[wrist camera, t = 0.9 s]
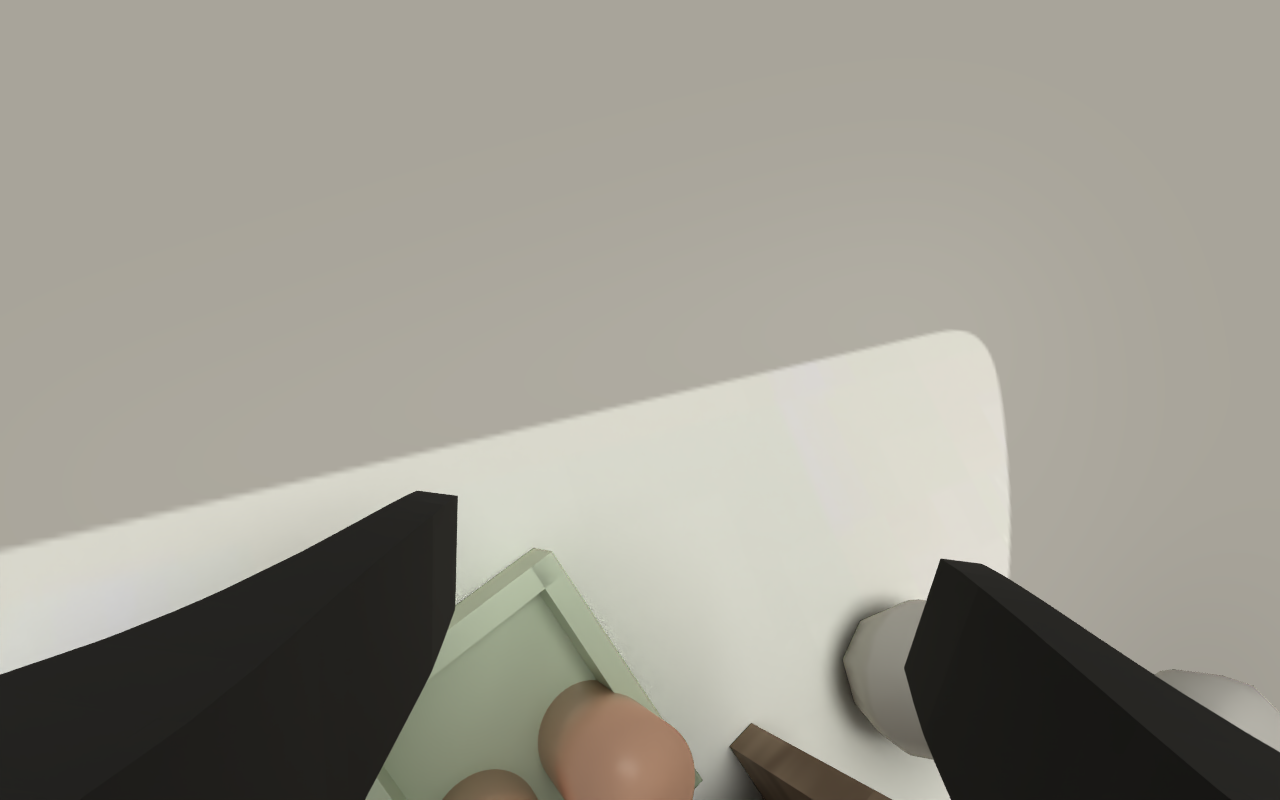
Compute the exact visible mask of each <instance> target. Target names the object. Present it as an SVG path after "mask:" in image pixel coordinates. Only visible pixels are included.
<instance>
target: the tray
mask: <svg viewBox="0 0 1280 800" xmlns="http://www.w3.org/2000/svg"><path fill="white" fill-rule="evenodd" d="M701 782H702V779H701V777H700V776H699V774H698V772H697V771H696V769H695V768H694V761H693V758H692V754H691V751H690V749H689V746H688V745H687V743H686V741H685V739H684V738H683V737H682V735H681V734H680V733H679V732H678V731H677V730H676V729H675V728H674V727H672V726H671V725H669V724H668V723H667V722H665V721H664V720H663V719H662V718H661V716H660V715H659V713H658V712H657V710H656V709H655V707H654V706H653V704H652V703H651V701H650V700H649V698H648V697H647V695H646V693H645V692H644V690H643V689H642V687H641V686H640V684H639V683H638V681H637V680H636V678H635V677H634V675H633V674H632V672H631V671H630V669H629V668H628V666H627V665H626V663H625V662H624V660H623V659H622V657H621V656H620V654H619V652H618V651H617V649H616V648H615V646H614V645H613V643H612V642H611V640H610V639H609V637H608V636H607V634H606V633H605V631H604V630H603V628H602V627H601V625H600V624H599V622H598V621H597V619H596V618H595V616H594V614H593V613H592V611H591V610H590V608H589V607H588V605H587V604H586V602H585V601H584V599H583V598H582V596H581V595H580V593H579V592H578V590H577V589H576V587H575V586H574V584H573V583H572V581H571V580H570V578H569V577H568V575H567V573H566V572H565V570H564V569H563V567H562V566H561V564H560V563H559V561H558V560H557V558H556V557H555V555H554V554H553V552H552V551H547V550H541V549H536V548H533V549H532V550H530V551H529V552H528V553H526V554H525V555H523V556H522V557H521V558H519V559H518V560H517V561H515V562H514V563H513V564H511V565H510V566H509V567H507V568H506V569H505V570H503V571H502V572H501V573H499V574H498V575H496V576H495V577H494V578H492V579H491V580H490V581H488V582H487V583H486V584H484V585H483V586H482V587H480V588H479V589H478V590H476V591H475V592H474V593H472V594H471V595H469V596H468V597H467V598H465V599H464V600H463V601H461V602H460V603H459V604H457V605H456V606H455V611H454V614H453V617H452V619H451V622H450V625H449V628H448V630H447V633H446V636H445V639H444V641H443V644H442V647H441V649H440V652H439V654H438V657H437V660H436V662H435V665H434V667H433V670H432V672H431V674H430V676H429V678H428V680H427V682H426V684H425V686H424V688H423V690H422V692H421V694H420V696H419V698H418V700H417V702H416V704H415V706H414V707H413V709H412V711H411V713H410V715H409V717H408V719H407V721H406V723H405V725H404V727H403V729H402V731H401V732H400V734H399V736H398V738H397V740H396V742H395V744H394V746H393V748H392V750H391V751H390V753H389V755H388V757H387V759H386V761H385V763H384V765H383V767H382V769H381V770H380V772H379V774H378V776H377V778H376V780H375V782H374V784H373V786H372V788H371V789H370V791H369V793H368V795H367V797H366V799H365V800H692V798H693V793H694V789H695V788H696V787H697V786H698V785H699V784H700V783H701Z"/></svg>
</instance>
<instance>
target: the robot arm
mask: <svg viewBox="0 0 1280 800" xmlns="http://www.w3.org/2000/svg"><path fill="white" fill-rule="evenodd" d="M457 503H458V496H454V495H446V494H438V493H431V492H423V491H415V492H413V493H411V494H409V495H407V496H405V497H403V498H401V499H399V500H397V501H395V502H393V503H391V504H389V505H387V506H385V507H384V508H382V509H380V510H378V511H376V512H374V513H373V514H371V515H369V516H367V517H365V518H363V519H362V520H360V521H358V522H356V523H354V524H353V525H351V526H349V527H347V528H345V529H343V530H341V531H339V532H338V533H336V534H334V535H332V536H330V537H328V538H326V539H325V540H323V541H321V542H319V543H317V544H315V545H313V546H312V547H310V548H308V549H306V550H304V551H302V552H300V553H298V554H296V555H294V556H292V557H290V558H288V559H286V560H284V561H282V562H280V563H278V564H276V565H274V566H272V567H269V568H267V569H265V570H263V571H261V572H259V573H257V574H255V575H253V576H251V577H249V578H247V579H245V580H243V581H241V582H239V583H237V584H235V585H232V586H230V587H228V588H226V589H224V590H222V591H220V592H218V593H215V594H213V595H211V596H209V597H206V598H204V599H202V600H200V601H197V602H195V603H193V604H190V605H188V606H186V607H183V608H181V609H179V610H176V611H174V612H171V613H169V614H166V615H164V616H161V617H159V618H156V619H154V620H151V621H149V622H146V623H144V624H141V625H139V626H136V627H134V628H131V629H129V630H126V631H124V632H121V633H119V634H116V635H114V636H111V637H108V638H106V639H103V640H100V641H98V642H95V643H92V644H89V645H86V646H83V647H80V648H77V649H74V650H71V651H68V652H65V653H63V654H60V655H57V656H54V657H51V658H48V659H45V660H42V661H39V662H36V663H33V664H30V665H27V666H24V667H22V668H19V669H16V670H13V671H10V672H7V673H4V674H1V675H0V800H365V799H366V797H367V795H368V793H369V791H370V789H371V788H372V786H373V784H374V782H375V780H376V778H377V776H378V774H379V772H380V770H381V769H382V767H383V765H384V763H385V761H386V759H387V757H388V755H389V753H390V751H391V750H392V748H393V746H394V744H395V742H396V740H397V738H398V736H399V734H400V732H401V731H402V729H403V727H404V725H405V723H406V721H407V719H408V717H409V715H410V713H411V711H412V709H413V707H414V706H415V704H416V702H417V700H418V698H419V696H420V694H421V692H422V690H423V688H424V686H425V684H426V682H427V680H428V678H429V676H430V674H431V672H432V670H433V667H434V665H435V662H436V660H437V657H438V654H439V652H440V649H441V647H442V644H443V641H444V639H445V636H446V633H447V630H448V628H449V625H450V622H451V619H452V617H453V614H454V611H455V592H456V547H457ZM904 670H905V674H906V678H907V681H908V685H909V689H910V692H911V696H912V699H913V703H914V707H915V710H916V713H917V716H918V719H919V723H920V726H921V729H922V732H923V735H924V738H925V740H926V743H927V745H928V747H929V750H930V752H931V755H932V757H933V759H934V762H935V764H936V766H937V768H938V771H939V773H940V775H941V778H942V780H943V782H944V785H945V787H946V789H947V792H948V794H949V796H950V798H951V800H1280V752H1279V751H1277V750H1275V749H1274V748H1272V747H1270V746H1269V745H1267V744H1265V743H1264V742H1262V741H1260V740H1258V739H1257V738H1255V737H1253V736H1252V735H1250V734H1248V733H1247V732H1245V731H1243V730H1242V729H1240V728H1238V727H1237V726H1235V725H1234V724H1232V723H1230V722H1229V721H1227V720H1225V719H1224V718H1222V717H1221V716H1219V715H1217V714H1216V713H1214V712H1213V711H1211V710H1209V709H1208V708H1206V707H1204V706H1203V705H1201V704H1200V703H1198V702H1196V701H1195V700H1193V699H1192V698H1190V697H1188V696H1187V695H1185V694H1183V693H1182V692H1180V691H1179V690H1177V689H1176V688H1174V687H1172V686H1171V685H1169V684H1168V683H1166V682H1165V681H1163V680H1162V679H1160V678H1158V677H1157V676H1155V675H1154V674H1152V673H1150V672H1149V671H1147V670H1146V669H1145V668H1143V667H1141V666H1140V665H1138V664H1137V663H1135V662H1134V661H1132V660H1131V659H1129V658H1128V657H1126V656H1125V655H1123V654H1122V653H1120V652H1119V651H1117V650H1116V649H1114V648H1113V647H1111V646H1110V645H1108V644H1107V643H1105V642H1104V641H1102V640H1101V639H1099V638H1098V637H1096V636H1095V635H1093V634H1092V633H1090V632H1088V631H1087V630H1086V629H1084V628H1083V627H1081V626H1080V625H1078V624H1077V623H1075V622H1074V621H1072V620H1071V619H1069V618H1068V617H1066V616H1065V615H1063V614H1062V613H1060V612H1059V611H1057V610H1056V609H1054V608H1053V607H1051V606H1050V605H1048V604H1047V603H1045V602H1044V601H1042V600H1041V599H1039V598H1038V597H1036V596H1035V595H1033V594H1032V593H1030V592H1029V591H1027V590H1025V589H1024V588H1022V587H1021V586H1019V585H1018V584H1016V583H1014V582H1013V581H1011V580H1010V579H1008V578H1006V577H1005V576H1003V575H1001V574H1000V573H998V572H996V571H994V570H992V569H990V568H989V567H987V566H985V565H983V564H978V563H971V562H963V561H955V560H947V559H940V562H939V565H938V568H937V571H936V574H935V577H934V580H933V583H932V586H931V589H930V592H929V595H928V598H927V601H926V604H925V607H924V610H923V613H922V615H921V618H920V621H919V624H918V627H917V630H916V633H915V636H914V639H913V642H912V645H911V648H910V651H909V654H908V657H907V660H906V663H905V666H904Z"/></svg>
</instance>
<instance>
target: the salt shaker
mask: <svg viewBox="0 0 1280 800" xmlns="http://www.w3.org/2000/svg"><path fill="white" fill-rule="evenodd" d="M925 604H926V601H925V600H908V601H906V602H903V603H901V604H899V605H896V606H894V607H892V608H889V609H887V610H885V611H882V612H880V613H878V614H875V615H873V616H870V617H868V618H866V619H863V620H861V621H860V623H859V625H858V627H857V629H856V631H855V633H854V636H853V638H852V640H851V642H850V644H849V646H848V649H847V651H846V653H845V655H844V657H843V663H844V666H845V670H846V674H847V677H848V681H849V685H850V688H851V692H852V695H853V699H854V703H855V704H856V705H857V706H858V708H859V709H860V710H861V711H862V712H863V714H864V715H865V716H866V717H867V718H868V720H869V721H870V722H871V723H872V724H873V726H874V727H875V728H876V729H877V730H878V732H880V733H881V734H882V735H884V736H885V737H886V738H887V739H889V740H890V741H891V742H893V743H894V744H895V745H896V746H898V747H899V748H900V749H902V750H903V751H905V752H907V753H908V754H910V755H912V756H917V757H922V758H928V759H933V757H932V755H931V752H930V750H929V747H928V745H927V743H926V740H925V738H924V735H923V732H922V729H921V726H920V723H919V719H918V716H917V713H916V710H915V707H914V703H913V699H912V696H911V692H910V689H909V685H908V681H907V678H906V674H905V670H904V666H905V663H906V660H907V657H908V654H909V651H910V648H911V645H912V642H913V639H914V636H915V633H916V630H917V627H918V624H919V621H920V618H921V615H922V613H923V610H924V607H925ZM1155 676H1157V677H1158V678H1160V679H1162V680H1163V681H1165V682H1166V683H1168V684H1169V685H1171V686H1172V687H1174V688H1176V689H1177V690H1179V691H1180V692H1182V693H1183V694H1185V695H1187V696H1188V697H1190V698H1192V699H1193V700H1195V701H1196V702H1198V703H1200V704H1201V705H1203V706H1204V707H1206V708H1208V709H1209V710H1211V711H1213V712H1214V713H1216V714H1217V715H1219V716H1221V717H1222V718H1224V719H1225V720H1227V721H1229V722H1230V723H1232V724H1234V725H1235V726H1237V727H1238V728H1240V729H1242V730H1243V731H1245V732H1247V733H1248V734H1250V735H1252V736H1253V737H1255V738H1257V739H1258V740H1260V741H1262V742H1264V743H1265V744H1267V745H1269V746H1270V747H1272V748H1274V749H1275V750H1277V751H1279V752H1280V712H1279V711H1278V710H1277V709H1276V708H1275V707H1274V706H1273V705H1272V704H1271V703H1270V702H1269V701H1268V700H1267V699H1266V698H1265V697H1264V696H1263V695H1262V694H1261V693H1260V692H1259V691H1258V690H1257V689H1256V688H1255V687H1254V686H1252V685H1249V684H1246V683H1243V682H1240V681H1237V680H1234V679H1231V678H1228V677H1225V676H1221V675H1214V674H1205V673H1198V672H1190V671H1182V670H1175V669H1172V670H1165V671H1160V672H1158V673H1157V674H1155ZM933 760H934V759H933Z"/></svg>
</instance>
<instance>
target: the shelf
mask: <svg viewBox="0 0 1280 800" xmlns="http://www.w3.org/2000/svg"><path fill="white" fill-rule="evenodd" d="M730 747H731V749H732V750H733V752H734V753H735V755H736V757H737V758H738V760H739V761H740V763H741V764H742V766H743V767H744V769H745V770H746V772H747V773H748V775H749V777H750V778H751V780H752V781H753V783H754V784H755V786H756V787H757V789H758V790H759V792H760V793H761V795H762V796H763V798H764V800H892V799H890V798H888V797H886V796H884V795H883V794H881V793H879V792H877V791H875V790H873V789H872V788H870V787H868V786H866V785H864V784H862V783H861V782H859V781H857V780H855V779H853V778H851V777H849V776H848V775H846V774H844V773H842V772H840V771H838V770H837V769H835V768H833V767H831V766H829V765H827V764H826V763H824V762H822V761H820V760H818V759H816V758H815V757H813V756H811V755H809V754H807V753H805V752H804V751H802V750H800V749H798V748H796V747H794V746H792V745H791V744H789V743H787V742H785V741H783V740H781V739H780V738H778V737H776V736H774V735H772V734H770V733H769V732H767V731H765V730H763V729H761V728H759V727H758V726H756V725H754V724H752V723H751V724H750V725H749V726H748V728H747V729H746V730H745V731H744V732H743V733H742V734H741V735H740V736H739V737H738V738H737V739H736V740H735V741H734V742H733V744H732V745H731V746H730Z"/></svg>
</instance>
